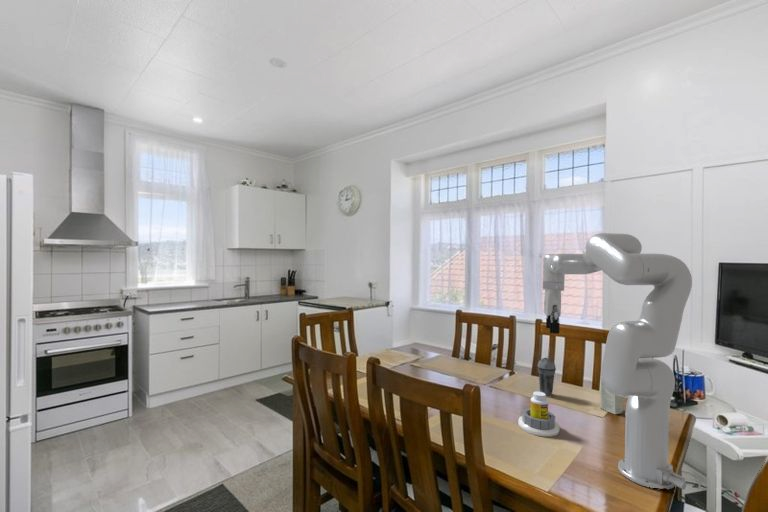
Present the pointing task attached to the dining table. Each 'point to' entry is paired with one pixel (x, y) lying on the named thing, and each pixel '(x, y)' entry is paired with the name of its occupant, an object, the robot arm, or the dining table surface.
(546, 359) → the beverage cup
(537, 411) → the supplement bottle
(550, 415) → the holder
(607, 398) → the skincare box
